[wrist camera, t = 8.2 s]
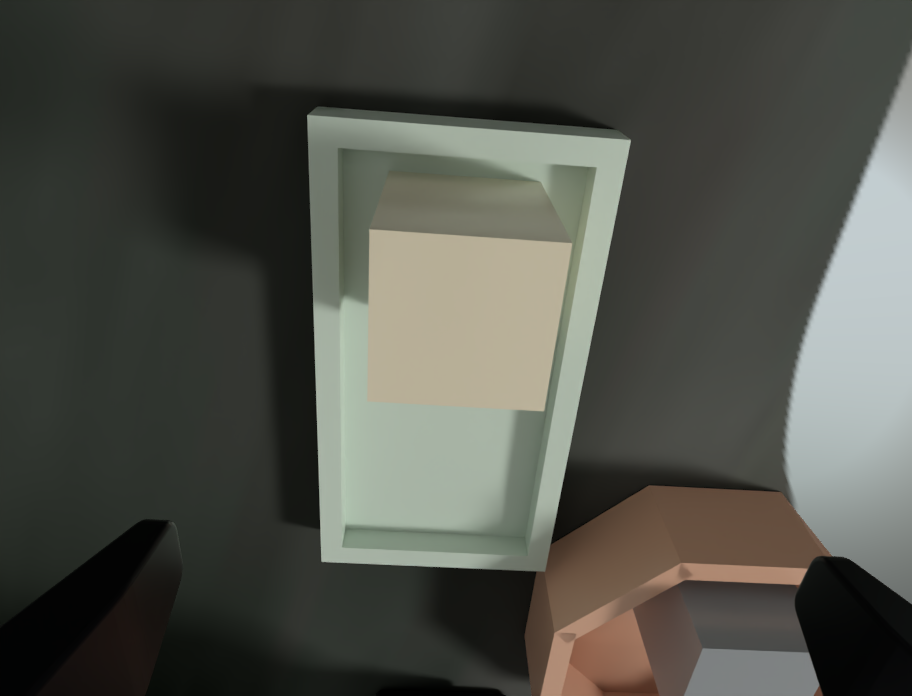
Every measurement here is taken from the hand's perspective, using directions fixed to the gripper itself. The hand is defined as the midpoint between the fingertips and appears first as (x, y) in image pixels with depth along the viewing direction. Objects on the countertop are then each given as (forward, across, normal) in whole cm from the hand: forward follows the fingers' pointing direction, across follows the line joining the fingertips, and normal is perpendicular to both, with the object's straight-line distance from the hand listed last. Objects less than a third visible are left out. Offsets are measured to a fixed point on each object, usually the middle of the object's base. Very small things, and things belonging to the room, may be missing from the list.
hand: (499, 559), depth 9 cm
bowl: (+13, -11, +16) cm, 23 cm away
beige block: (+13, 0, 0) cm, 13 cm away
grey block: (+12, -11, +13) cm, 21 cm away
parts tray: (+13, 0, +5) cm, 14 cm away
